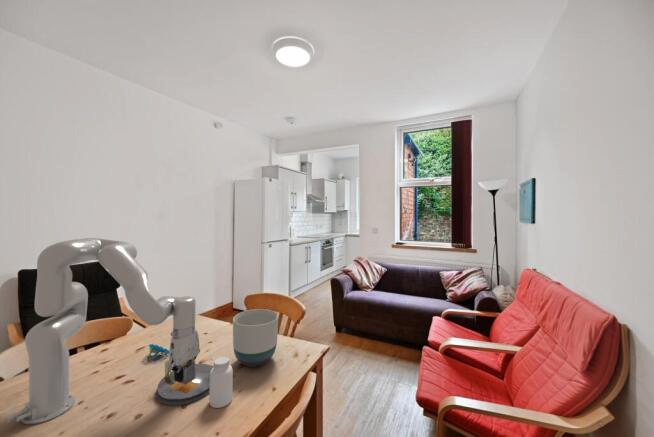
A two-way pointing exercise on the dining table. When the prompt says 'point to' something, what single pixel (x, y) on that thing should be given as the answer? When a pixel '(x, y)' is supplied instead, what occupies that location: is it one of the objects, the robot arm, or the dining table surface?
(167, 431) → the dining table surface
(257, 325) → the planter
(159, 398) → the base plate
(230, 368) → the pill bottle
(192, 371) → the link block
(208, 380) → the turntable
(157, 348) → the blue green toy
